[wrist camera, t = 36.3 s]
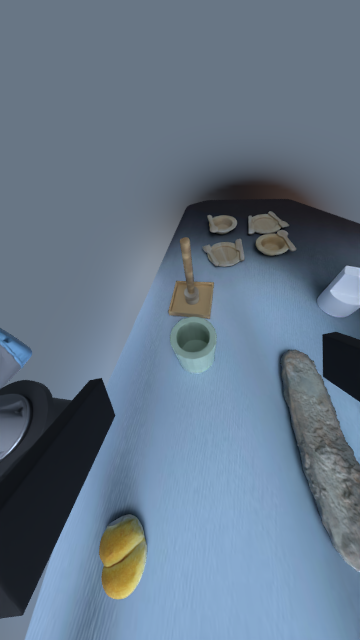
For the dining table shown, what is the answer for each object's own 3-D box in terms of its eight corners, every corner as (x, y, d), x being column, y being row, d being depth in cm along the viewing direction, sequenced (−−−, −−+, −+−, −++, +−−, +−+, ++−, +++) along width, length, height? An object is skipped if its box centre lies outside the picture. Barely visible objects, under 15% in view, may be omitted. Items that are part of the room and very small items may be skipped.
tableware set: (205, 270, 64) (204, 262, 60) (199, 225, 79) (198, 216, 75) (304, 259, 60) (310, 249, 56) (278, 214, 75) (282, 204, 71)
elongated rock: (308, 354, 45) (268, 355, 47) (318, 345, 41) (273, 347, 42) (398, 571, 26) (323, 560, 27) (433, 599, 21) (343, 584, 23)
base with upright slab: (354, 297, 50) (392, 266, 40) (352, 321, 46) (393, 294, 36) (319, 288, 53) (346, 257, 43) (314, 310, 50) (342, 282, 39)
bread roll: (108, 599, 29) (95, 623, 25) (102, 524, 33) (90, 536, 30) (154, 576, 29) (147, 597, 26) (142, 506, 34) (134, 515, 30)
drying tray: (169, 315, 56) (168, 311, 54) (177, 284, 62) (176, 280, 60) (209, 318, 53) (210, 315, 51) (213, 286, 59) (213, 282, 58)
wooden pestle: (184, 304, 56) (172, 247, 38) (186, 293, 59) (176, 234, 40) (198, 305, 56) (193, 247, 37) (199, 294, 58) (196, 233, 39)
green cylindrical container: (175, 370, 46) (165, 355, 35) (182, 337, 51) (175, 314, 40) (212, 376, 44) (214, 362, 33) (215, 341, 49) (218, 318, 38)
